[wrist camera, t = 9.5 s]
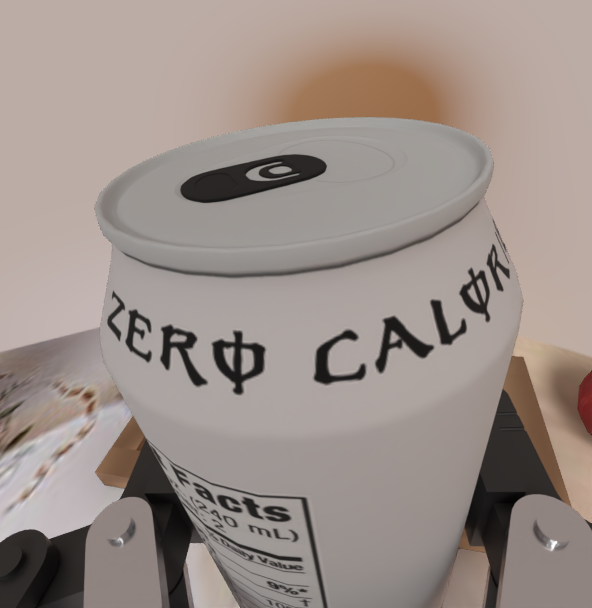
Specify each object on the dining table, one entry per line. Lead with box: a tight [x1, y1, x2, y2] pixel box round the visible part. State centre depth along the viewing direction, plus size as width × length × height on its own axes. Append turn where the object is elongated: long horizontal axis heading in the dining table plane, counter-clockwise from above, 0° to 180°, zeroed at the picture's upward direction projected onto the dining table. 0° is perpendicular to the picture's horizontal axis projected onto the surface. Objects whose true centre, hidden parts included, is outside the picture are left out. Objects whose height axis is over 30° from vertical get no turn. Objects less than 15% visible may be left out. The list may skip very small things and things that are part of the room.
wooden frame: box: [95, 356, 571, 553], centre depth 29 cm, size 29×14×2 cm, turn 77°
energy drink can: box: [95, 117, 523, 608], centre depth 9 cm, size 6×6×15 cm
